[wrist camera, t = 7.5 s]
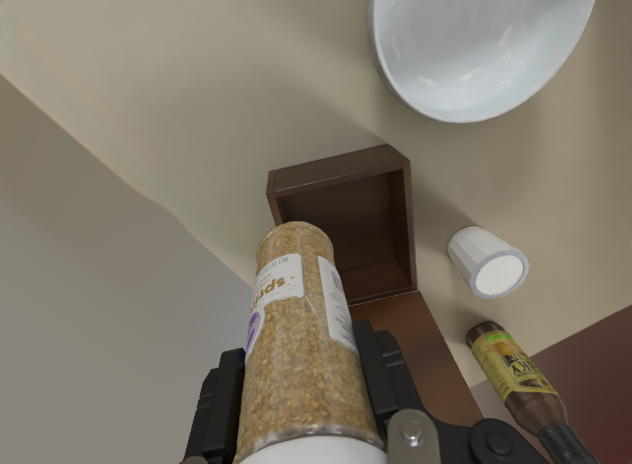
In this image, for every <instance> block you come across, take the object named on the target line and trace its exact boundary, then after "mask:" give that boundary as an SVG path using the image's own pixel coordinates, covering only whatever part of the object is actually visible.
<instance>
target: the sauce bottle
mask: <svg viewBox="0 0 632 464" xmlns="http://www.w3.org/2000/svg"><path fill="white" fill-rule="evenodd" d="M467 344H468V346H469V348H470V349H471V350H472V354H473V355H474V357H475V359H476V360H477V362H478V363H479V365H480V367H481V368H482V370H483V371H484V373H485V375H486V376H487V378H488V379H489V381H490V383H491V384H492V386H493V387H494V389H495V391H496V392H497V394H498V395H499V397H500V399H501V400H502V402H503V403H504V405H505V406H506V408H507V409H508V410H509V411H510V413H511V415H512V416H513V418H514V419H515V421H516V423H517V424H518V425H519V426H520V427H521V428H523V429H524V430H525V431H527V432H528V433H530V434H531V435H533V436H535V437H537V438H538V439H539V441H540V443H541V444H542V446H543V447H544V448H545V449H546V451H547V452H548V454H549V455H550V457H551V458H552V460H553V461H554V463H555V464H601V463H600V462H599V461H598V460H597V458H596V457H595V456H594V455H592V454H591V453H590V452H589V451H588V450H587V449H586V448H585V446H584V445H583V443H582V442H581V441H580V439H579V438H578V437H577V436H576V434H575V432H574V431H573V430H572V428H570V427H569V423H568V415H567V411H566V408H565V405H564V403H563V402H562V401H561V399H560V397H559V395H558V394H557V392H556V391H555V390H554V389H553V387H552V386H551V385H550V384H549V382H548V381H547V380H546V379H545V377H544V376H543V375H542V374H541V373H540V371H539V370H538V369H537V368H536V366H535V365H534V364H533V363H532V361H531V360H530V359H529V357H528V356H527V355H526V354H525V353H524V352H523V350H522V349H521V348H520V346H519V345H518V344H517V343H516V341H515V340H514V339H513V338H512V336H511V335H510V334H509V333H507V332H506V331H505V330H504V329H503V328H502V327H501V326H500V325H498V324H496V323H487V324H486V323H485V324H481V325H479V326H478V327H476V328H474V329H473V330H472V331H470V332H469V334H468V337H467Z"/></svg>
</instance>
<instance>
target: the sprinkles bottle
mask: <svg viewBox="0 0 632 464" xmlns="http://www.w3.org/2000/svg"><path fill="white" fill-rule="evenodd" d="M333 257H334V253H333V246H332V243H331V241H330V240H329V238H328V236H327V235H326V234H325V233H324V232H323V231H322V230H321V229H319V228H318V227H316V226H314V225H312V224H309V223H306V222H297V221H293V222H288V223H285V224H281V225H278V226H277V227H275V228H273V229H271V230H270V231H269V232H268V233H267V234H266V235H265V236H264V238H262V240H261V242H260V243H259V245H258V249H257V263H258V264H257V272H256V280H255V283H254V288H253V297H252V306H251V315H250V322H249V331H248V340H247V349H246V357H245V378H244V387H243V392H242V401H241V413H240V417H239V430H238V437H237V451H236V456H235V457H234V461H233V464H387V454H386V448H385V445H384V442H383V441H382V440H381V439H380V437H379V434H378V431H377V424H376V419H375V417H374V413H373V409H372V405H371V401H370V396H369V393H368V389H367V384H366V380H365V377H364V373H363V368H362V364H361V360H360V355H359V352H358V348H357V344H356V340H355V336H354V332H353V328H352V324H351V322H352V321H351V317H350V313H349V309H348V306H347V302H346V298H345V294H344V291H343V287H342V283H341V279H340V276H339V274H338V272H337V270H336V267H335V263H334V259H333Z"/></svg>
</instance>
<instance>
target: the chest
mask: <svg viewBox="0 0 632 464" xmlns="http://www.w3.org/2000/svg"><path fill="white" fill-rule="evenodd" d="M266 195H267V199H268V202H269V205H270V208H271V212H272V215H273V218H274V221H275V225H276V227H277V226H278V225H281V224H285V223H288V222H293V221H297V222H306V223H309V224H312V225H314V226H316V227H318V228H319V229H321V230H322V231H323V232H324V233H325V234H326V235H327V236H328V238H329V240H330V241H331V243H332V246H333V253H334V257H333V259H334V263H335V267H336V270H337V272H338V274H339V276H340V279H341V283H342V287H343V291H344V294H345V298H346V302H347V306H349V305H354V304H358V303H363V302H367V301H372V300H376V299H381V298H385V297H390V296H394V295H399V294H403V293H408V292H412V291H417V290H418V283H417V267H416V251H415V234H414V218H413V202H412V185H411V169H410V160H409V159H408V158H406V157H405V156H404V155H402V154H401V153H400V152H399V151H397V150H396V149H395V148H393V147H392V146H391V145H389V144H385V145H380V146H376V147H372V148H367V149H363V150H359V151H354V152H350V153H346V154H341V155H337V156H333V157H328V158H324V159H320V160H316V161H311V162H307V163H303V164H298V165H294V166H290V167H285V168H281V169H277V170H272V171H269V175H268V183H267V190H266Z"/></svg>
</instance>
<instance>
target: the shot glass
mask: <svg viewBox="0 0 632 464" xmlns="http://www.w3.org/2000/svg"><path fill="white" fill-rule="evenodd" d="M447 251H448V254H449V257H450V258H451V260H452V262H453V263H454V265H455V266H456V268H457V269H458V271H459V272H460V274H461V275H462V277H463V278H464V280H465V281H466V283H467V284H468V286H469V287H470V289H471V291H472V292H473V293H474V294H476V295H477V296H478V297H481V298H485V299H494V298H500V297H502V296H505V295H507V294H509V293H511V292H512V291H514V290H515V289H516V288H518V287H519V286H520V285H521V284H522V282H523V281H524V280H525V278H526V277H527V274H528V271H529V262H528V258H527V257H526V256H525V255H524V254H523V253H522V252H520V251H519V250H517V249H516V248H514V247H512V246H511V245H509V244H508V243H506V242H504V241H503V240H501V239H500V238H498V237H496V236H495V235H493V234H492V233H490V232H488V231H487V230H485V229H484V228H481V227H478V226H470V227H466V228H463V229H461V230H459V231H458V232H457V233H456V234H455V235H453V236H452V238H451V240H450V241H449V243H448V249H447Z"/></svg>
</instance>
